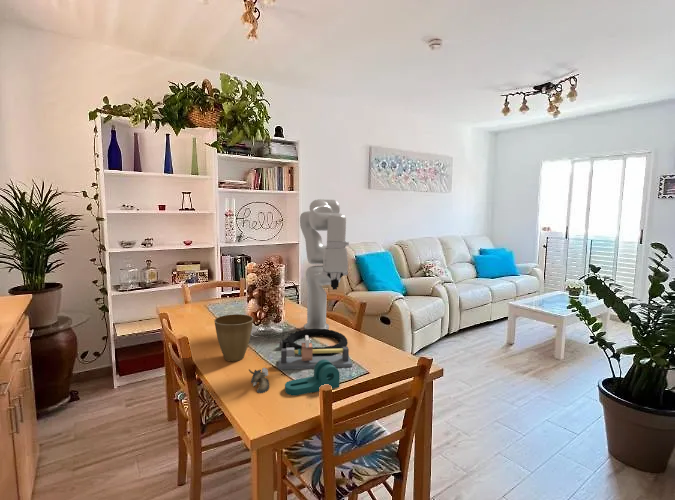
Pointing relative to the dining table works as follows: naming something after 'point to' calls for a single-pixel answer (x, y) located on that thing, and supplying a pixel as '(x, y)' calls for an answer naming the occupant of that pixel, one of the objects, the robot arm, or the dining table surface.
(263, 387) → the grey furry figure
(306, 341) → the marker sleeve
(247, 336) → the plant pot
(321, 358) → the linear slide rail
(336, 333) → the cable lock
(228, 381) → the dining table surface
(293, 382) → the bracket
